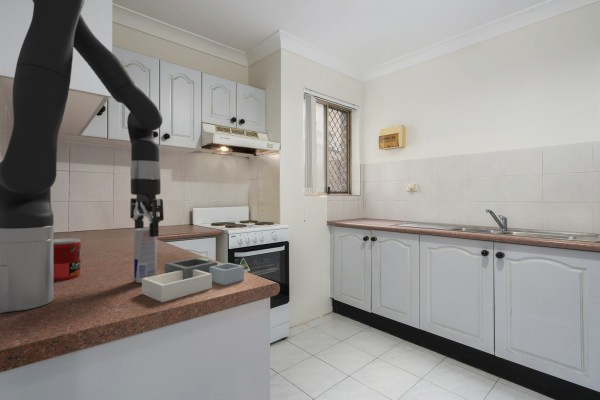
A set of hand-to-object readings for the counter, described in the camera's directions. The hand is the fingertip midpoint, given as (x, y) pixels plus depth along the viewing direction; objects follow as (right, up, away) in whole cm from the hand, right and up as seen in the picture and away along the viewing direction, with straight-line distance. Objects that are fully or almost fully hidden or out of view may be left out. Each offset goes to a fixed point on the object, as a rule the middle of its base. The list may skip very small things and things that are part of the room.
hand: (146, 235), depth 85 cm
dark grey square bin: (+11, -13, +4) cm, 18 cm away
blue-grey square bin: (+22, -13, +2) cm, 26 cm away
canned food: (-26, -13, +3) cm, 29 cm away
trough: (+12, -13, -8) cm, 20 cm away
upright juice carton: (0, -13, 0) cm, 13 cm away
